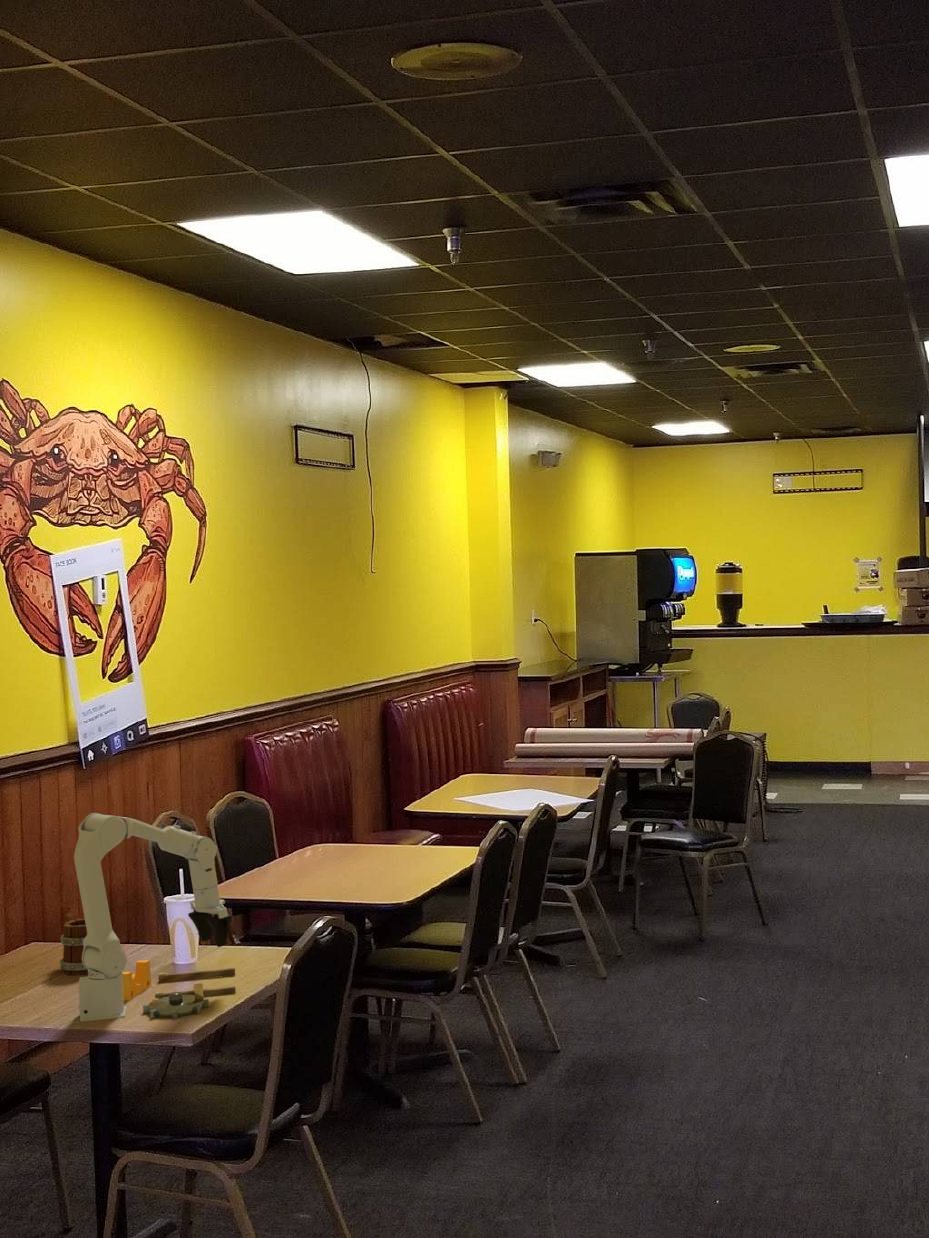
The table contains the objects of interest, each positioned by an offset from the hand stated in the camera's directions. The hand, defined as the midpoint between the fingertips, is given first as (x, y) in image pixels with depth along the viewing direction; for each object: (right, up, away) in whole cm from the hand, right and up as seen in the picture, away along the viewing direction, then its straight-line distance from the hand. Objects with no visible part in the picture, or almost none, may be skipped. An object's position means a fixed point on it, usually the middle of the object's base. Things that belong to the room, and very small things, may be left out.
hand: (214, 942), depth 336 cm
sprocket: (-5, -11, -18) cm, 22 cm away
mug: (-37, -12, +24) cm, 46 cm away
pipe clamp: (-19, -12, -2) cm, 22 cm away
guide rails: (-4, -10, 0) cm, 11 cm away
